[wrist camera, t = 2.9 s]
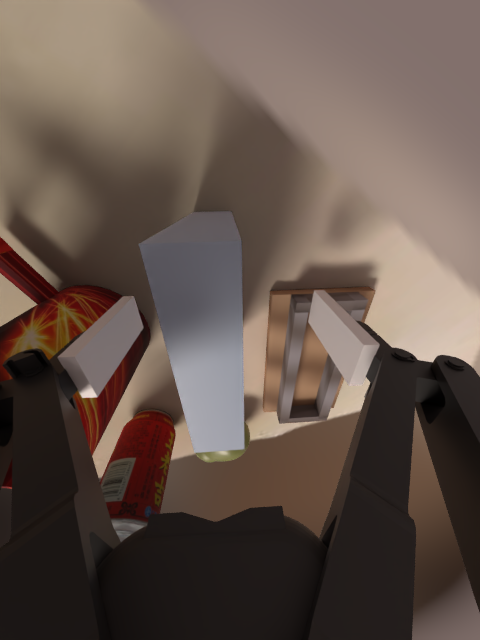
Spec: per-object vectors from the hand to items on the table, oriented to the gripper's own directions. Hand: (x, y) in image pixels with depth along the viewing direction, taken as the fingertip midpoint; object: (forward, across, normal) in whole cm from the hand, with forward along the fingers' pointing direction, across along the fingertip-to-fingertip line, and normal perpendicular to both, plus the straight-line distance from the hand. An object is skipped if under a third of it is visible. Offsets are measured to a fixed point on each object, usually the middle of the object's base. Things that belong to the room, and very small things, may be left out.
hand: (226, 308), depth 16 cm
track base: (+5, +9, -10) cm, 14 cm away
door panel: (+5, -1, 0) cm, 5 cm away
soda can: (+5, -12, -21) cm, 24 cm away
